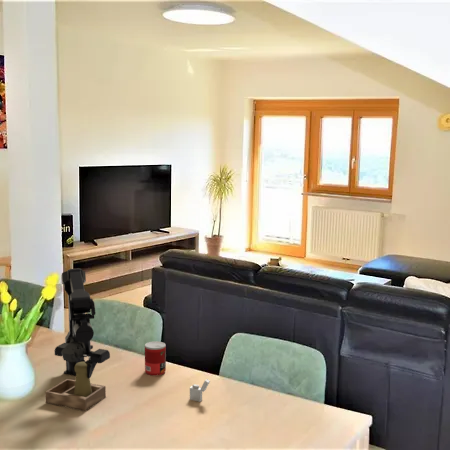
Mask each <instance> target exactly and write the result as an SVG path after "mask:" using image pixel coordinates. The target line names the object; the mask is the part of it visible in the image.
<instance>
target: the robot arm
mask: <svg viewBox="0 0 450 450" xmlns="http://www.w3.org/2000/svg"><path fill="white" fill-rule="evenodd" d="M86 274H87V273H86V271H85V270H83V268H79V267H78V268H69V269H67V270H66V271H63V272H62V273H61V276H60V277H61V278H60V280H61V285H63V290H64V291H65V293H66V294H67V297H68V298H67V302H68V304H67V305H68V332H67V334H66V335H65V337H64V342H63V343H61V344H59V345H56V347H55V348H54V356H56V357H62V359H63V361H65V368H66V370H64V371H63V374H66V375H70V376H71V375H72V376H75V377H76V372H75V368H74V367H75V365H76V364H77V363H78V362H85V363H86V364H87V376H88V379H89V378H90V379H91V378H92V375H93V373H94V370H95V368H96V366H97V364H102V363H104V362H105V361H107V360H108V359H110V358H111V354H110V353H111V352H110V351H109V350H108V349H103V348H97V349H96V350H95V351H93V348H94V346H93V345H92V344H91V341H92V339H93V337H94V336H95V333H94V329H93V326H92V324H91V320H92V319H94V320H95V315H96V306H95V301H94V300H93V298H91V295H90V293H89V292H88V291H87V290H85V286H84V284H85V283H86V282H87V279H86V276H87V275H86ZM85 358H88V359H87V360H86V359H85Z"/></svg>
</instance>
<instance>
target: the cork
mask: <svg viewBox="0 0 450 450" xmlns="http://www.w3.org/2000/svg"><path fill="white" fill-rule="evenodd" d="M74 368H75V372H76V376H75V390H74V395H77V396H82V397H87V396H89V395H90V394H92V389H91V377H90V378H89V379H88V376H87V364H86V363H85V362H78V363H77V364H76V365H75V367H74Z"/></svg>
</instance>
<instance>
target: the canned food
mask: <svg viewBox="0 0 450 450" xmlns="http://www.w3.org/2000/svg"><path fill="white" fill-rule="evenodd" d="M166 347H167V346H166V343H165V342H162V341H156V340H155V341H148V342H146V343H145V344H144V372H145V374H146V375H149V376H155V377H157V376H161V375H164V374H165V373H166V370H167V367H166V365H167V362H166V361H167V359H166V357H167V354H166V353H167V351H166V349H167V348H166Z"/></svg>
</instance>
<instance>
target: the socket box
mask: <svg viewBox="0 0 450 450" xmlns="http://www.w3.org/2000/svg"><path fill="white" fill-rule="evenodd" d="M75 380H76V379H75ZM75 380H74V379H71V378H65V379H64V380H62V381H60V382H59V383H57V384H56V385H54V386H52V387H51V388H49V389H47V390H46V391H44V392H45V394H44V395H45V403H46V404H48V405H53V406H59V407H61V408H62V407H63V408H68V409H72V410H78V411H82V412H87V411H88V410H89V409H91V408H92V407H94V406H95V405H96V404H98V403H99V402H101V401H102V400H104V399H105V398H107V397H106V394H107V393H106V392H107V390H106V388H107V387H106V385H102V384H96V383H91V382H90V383H91V389H92V394H90V395H89V396H87V397H82V396H77V395H74V390H75Z"/></svg>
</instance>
